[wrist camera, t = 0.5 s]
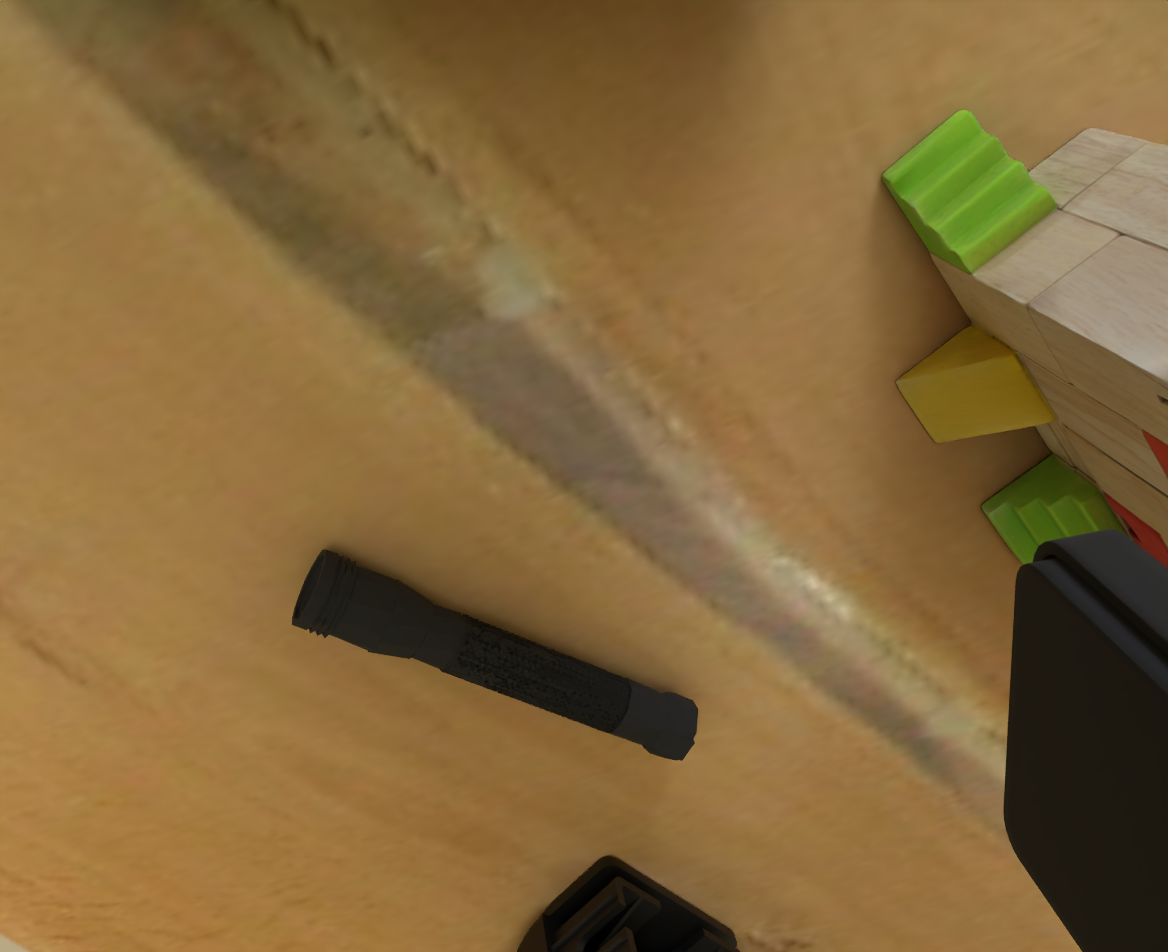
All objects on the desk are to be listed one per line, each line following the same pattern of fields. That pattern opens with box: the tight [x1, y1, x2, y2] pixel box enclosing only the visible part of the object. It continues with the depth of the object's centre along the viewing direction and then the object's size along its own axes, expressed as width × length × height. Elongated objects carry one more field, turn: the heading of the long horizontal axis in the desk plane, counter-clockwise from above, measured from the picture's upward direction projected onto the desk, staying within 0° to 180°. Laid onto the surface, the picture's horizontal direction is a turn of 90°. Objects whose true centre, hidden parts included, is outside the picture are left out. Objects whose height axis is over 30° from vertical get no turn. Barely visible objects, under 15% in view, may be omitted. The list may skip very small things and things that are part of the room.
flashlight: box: [292, 550, 698, 761], centre depth 43 cm, size 3×16×3 cm, turn 60°
